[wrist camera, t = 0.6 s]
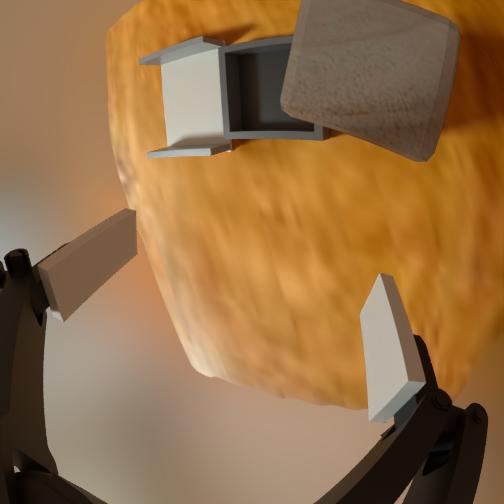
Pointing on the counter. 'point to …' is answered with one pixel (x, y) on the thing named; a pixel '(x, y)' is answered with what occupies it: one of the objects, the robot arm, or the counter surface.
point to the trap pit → (259, 92)
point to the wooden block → (373, 72)
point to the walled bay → (191, 98)
